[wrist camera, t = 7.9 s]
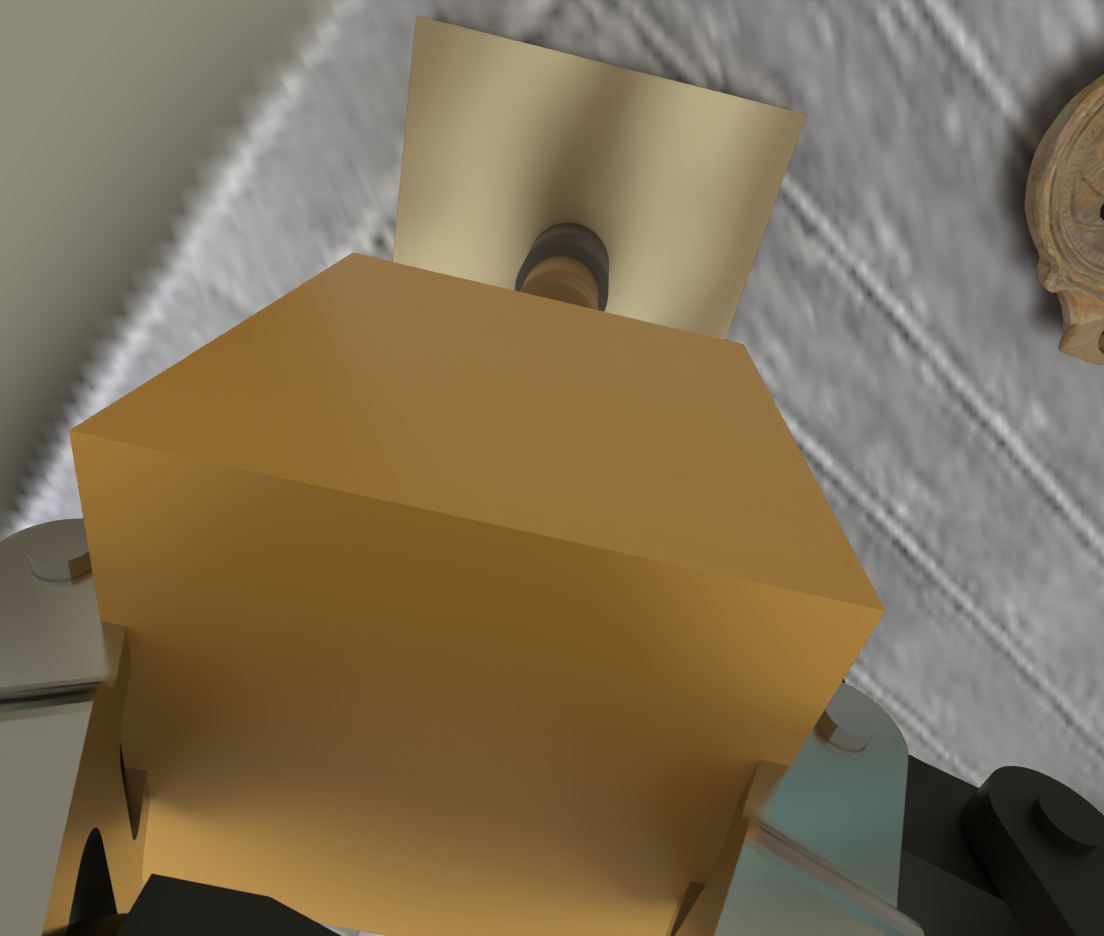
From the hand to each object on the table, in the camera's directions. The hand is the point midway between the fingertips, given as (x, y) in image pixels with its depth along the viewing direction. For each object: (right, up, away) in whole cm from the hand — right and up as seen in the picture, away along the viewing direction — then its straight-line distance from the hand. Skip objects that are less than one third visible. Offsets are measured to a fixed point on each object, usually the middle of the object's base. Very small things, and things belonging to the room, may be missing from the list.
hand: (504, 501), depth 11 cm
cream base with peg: (+2, +9, +16) cm, 18 cm away
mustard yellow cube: (0, +1, +1) cm, 1 cm away
